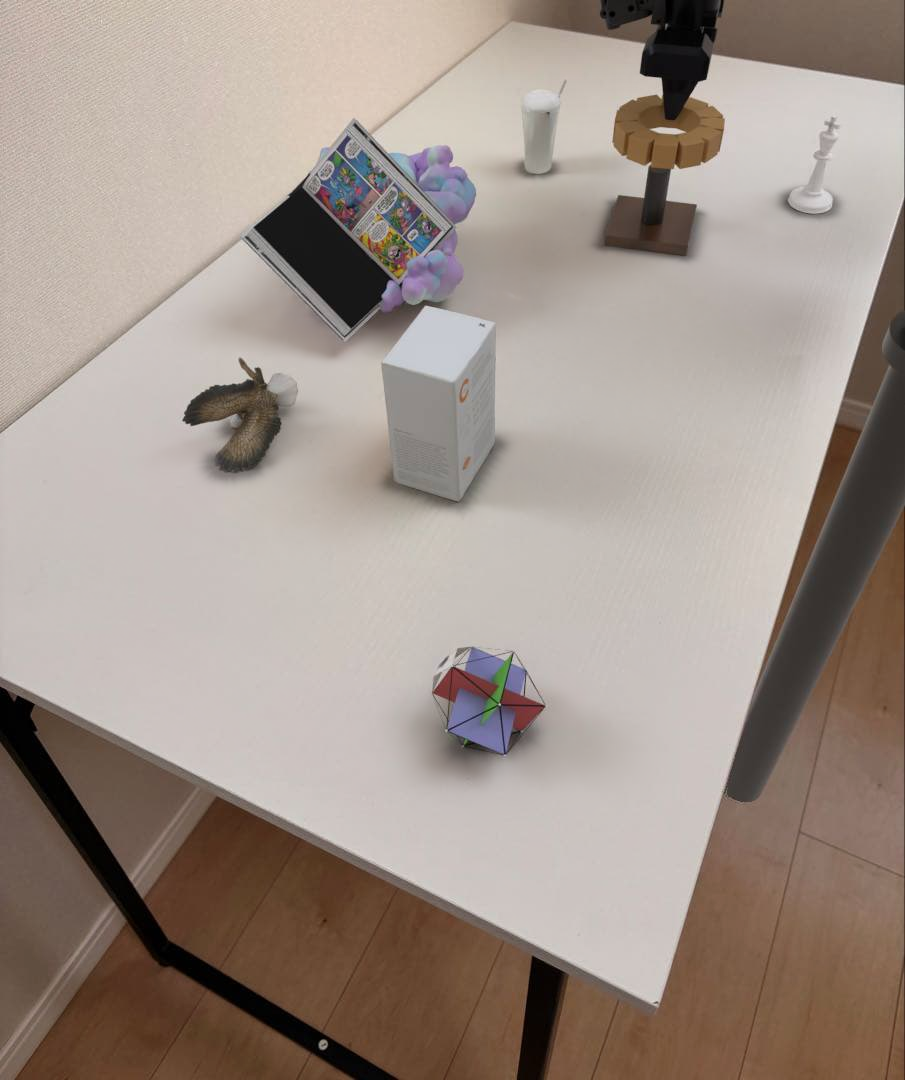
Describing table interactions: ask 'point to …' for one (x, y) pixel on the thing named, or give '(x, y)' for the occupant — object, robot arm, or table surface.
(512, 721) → the geometric puzzle
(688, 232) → the dark wooden peg stand
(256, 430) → the eagle figurine
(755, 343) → the table surface
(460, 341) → the small box
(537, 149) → the milkshake
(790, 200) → the chess piece
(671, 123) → the segmented wooden ring
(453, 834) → the table surface
